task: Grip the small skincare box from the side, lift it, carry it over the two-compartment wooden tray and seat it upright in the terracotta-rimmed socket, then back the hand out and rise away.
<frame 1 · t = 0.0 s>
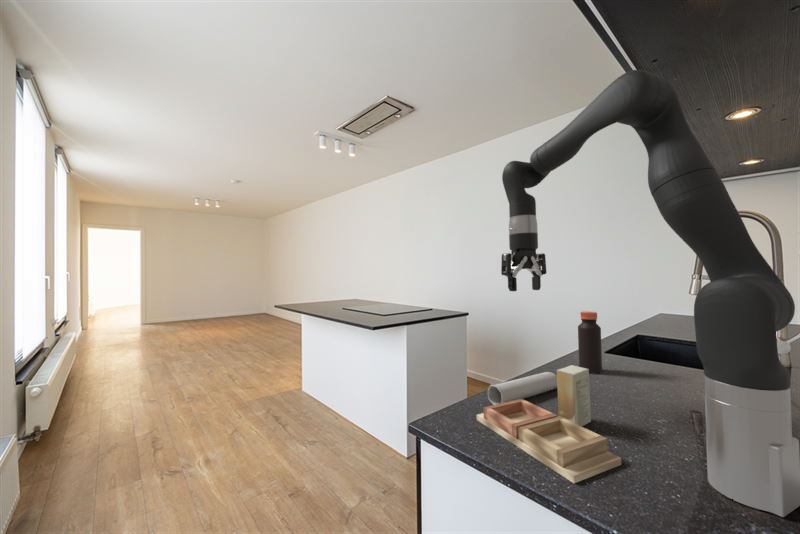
hand: (524, 290, 93), 29 cm above the counter, tool pointing down, fingers open, 8 cm apart
vinegar: (590, 371, 113), on the counter
skincare box: (574, 423, 75), on the counter
tube: (533, 394, 90), point 1 cm above the counter
two-compartment wooden tray: (538, 439, 68), on the counter
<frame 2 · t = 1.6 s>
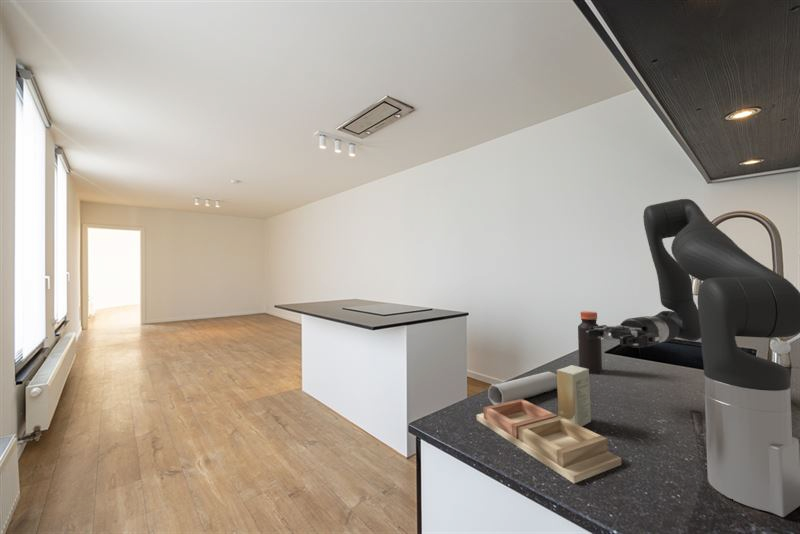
hand: (603, 338, 80), 18 cm above the counter, tool horizontal, fingers open, 8 cm apart
nothing on the counter moved.
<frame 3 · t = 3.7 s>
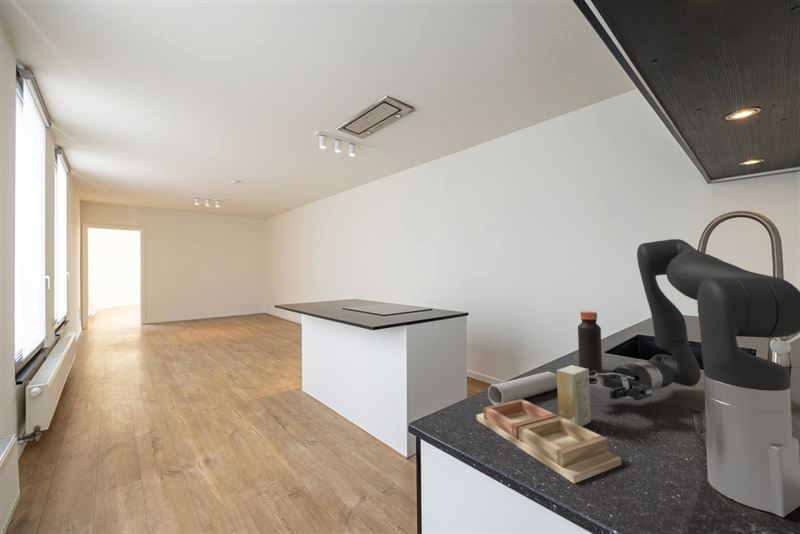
hand: (594, 388, 78), 7 cm above the counter, tool horizontal, fingers open, 8 cm apart
nothing on the counter moved.
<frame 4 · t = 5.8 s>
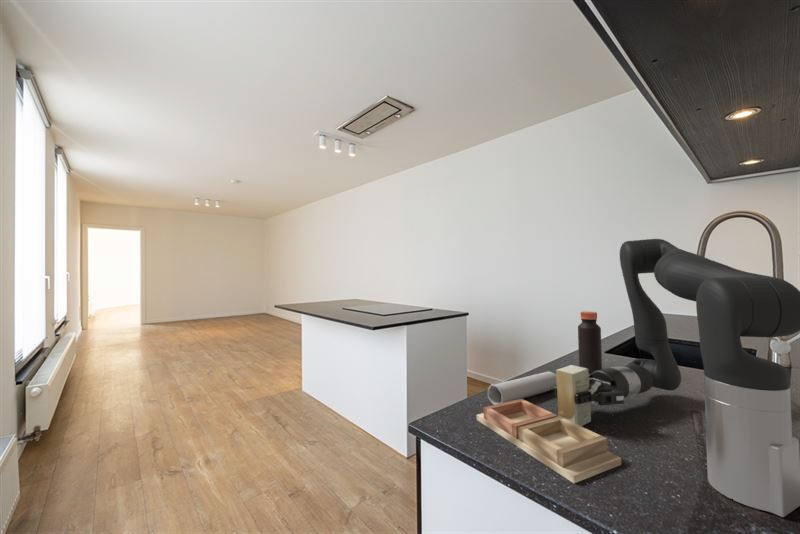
hand: (565, 395, 74), 7 cm above the counter, tool horizontal, fingers closed on skincare box, 4 cm apart
skincare box: (574, 423, 75), on the counter, touching gripper
everything else where it was.
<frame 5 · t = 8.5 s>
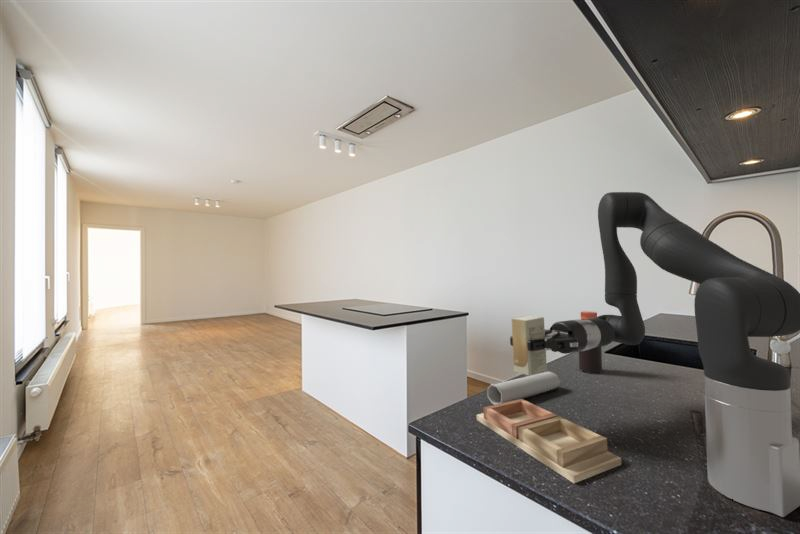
hand: (520, 343, 74), 19 cm above the counter, tool horizontal, fingers closed on skincare box, 4 cm apart
skincare box: (530, 372, 75), point 12 cm above the counter, touching gripper
everything else where it was.
when the fingers open (9 cm above the counter, at t = 11.0 s): skincare box drops 1 cm, resting on two-compartment wooden tray.
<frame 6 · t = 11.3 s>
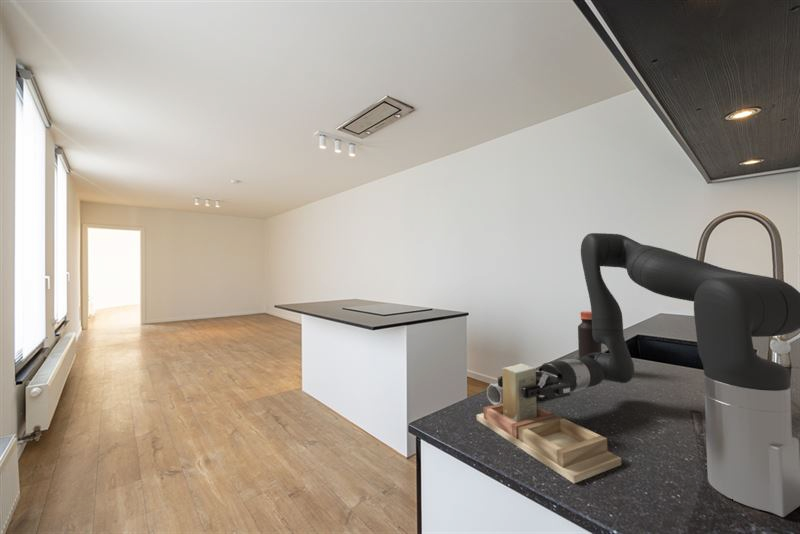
hand: (510, 387, 73), 9 cm above the counter, tool horizontal, fingers open, 7 cm apart
skincare box: (519, 422, 73), point 1 cm above the counter, touching two-compartment wooden tray
everything else where it was.
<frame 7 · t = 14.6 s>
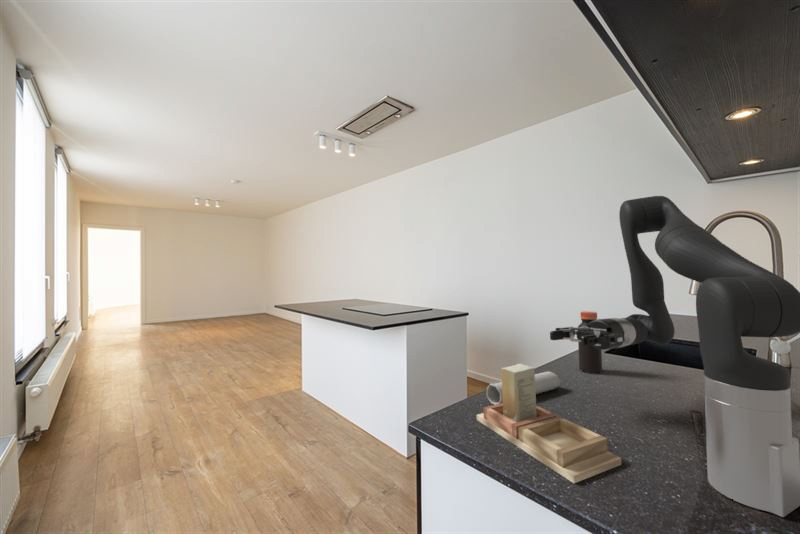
hand: (566, 338, 78), 19 cm above the counter, tool horizontal, fingers open, 8 cm apart
nothing on the counter moved.
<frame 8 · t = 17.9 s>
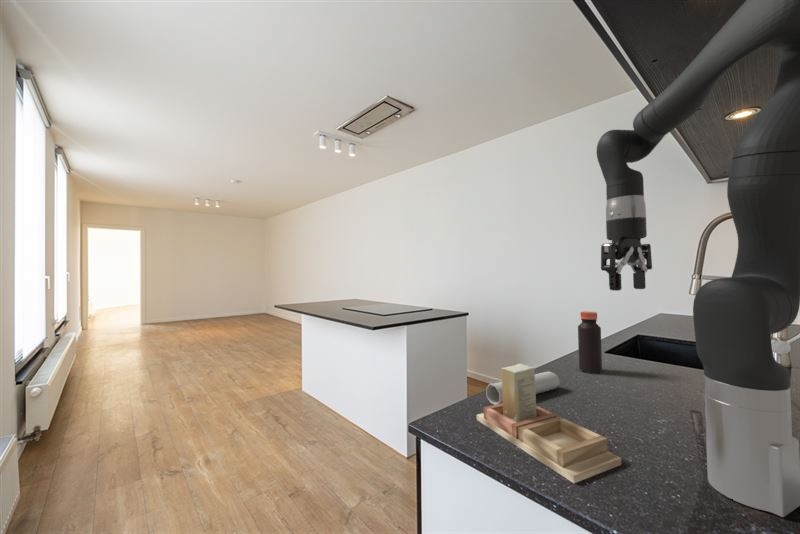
hand: (627, 289, 75), 30 cm above the counter, tool pointing down, fingers open, 8 cm apart
nothing on the counter moved.
at the end: skincare box 0.1 cm from the target spot on the two-compartment wooden tray, point 1.0 cm above the two-compartment wooden tray's base; skincare box tilted 0°; the gripper is holding nothing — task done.
